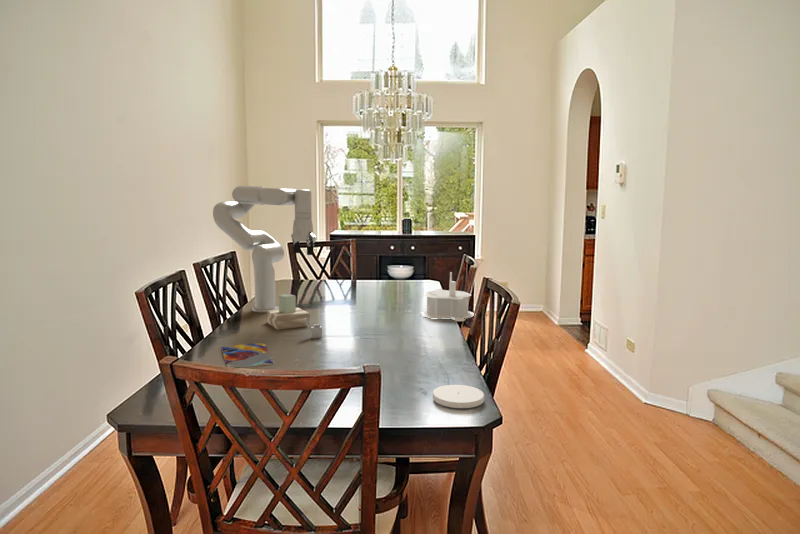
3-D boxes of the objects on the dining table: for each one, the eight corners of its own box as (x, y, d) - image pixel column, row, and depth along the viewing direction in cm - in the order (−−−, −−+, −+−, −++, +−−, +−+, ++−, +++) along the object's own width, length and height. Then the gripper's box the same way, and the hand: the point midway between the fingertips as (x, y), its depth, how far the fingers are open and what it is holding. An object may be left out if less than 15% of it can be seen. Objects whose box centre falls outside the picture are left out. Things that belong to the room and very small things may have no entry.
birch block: (267, 323, 241) (266, 310, 240) (297, 320, 248) (297, 307, 247) (277, 330, 229) (277, 316, 228) (309, 327, 236) (309, 313, 235)
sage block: (278, 311, 238) (278, 295, 237) (288, 309, 241) (288, 293, 240) (286, 313, 234) (286, 297, 234) (295, 311, 238) (295, 295, 237)
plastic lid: (438, 390, 162) (439, 382, 162) (486, 396, 158) (487, 387, 158) (427, 408, 149) (427, 399, 148) (479, 414, 145) (479, 405, 144)
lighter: (321, 336, 219) (321, 317, 218) (322, 337, 217) (322, 318, 216) (303, 337, 217) (303, 317, 216) (303, 338, 216) (303, 318, 215)
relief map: (275, 366, 184) (275, 360, 184) (227, 371, 178) (227, 365, 178) (264, 346, 207) (264, 341, 207) (221, 350, 202) (221, 344, 201)
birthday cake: (407, 311, 269) (407, 267, 266) (460, 307, 279) (461, 265, 276) (432, 325, 241) (433, 276, 238) (490, 320, 251) (491, 273, 248)
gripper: (285, 216, 256) (285, 253, 258) (308, 217, 244) (308, 256, 246) (298, 215, 261) (298, 251, 264) (321, 217, 250) (322, 255, 252)
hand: (303, 253), depth 255 cm, fingers open, 9 cm apart
